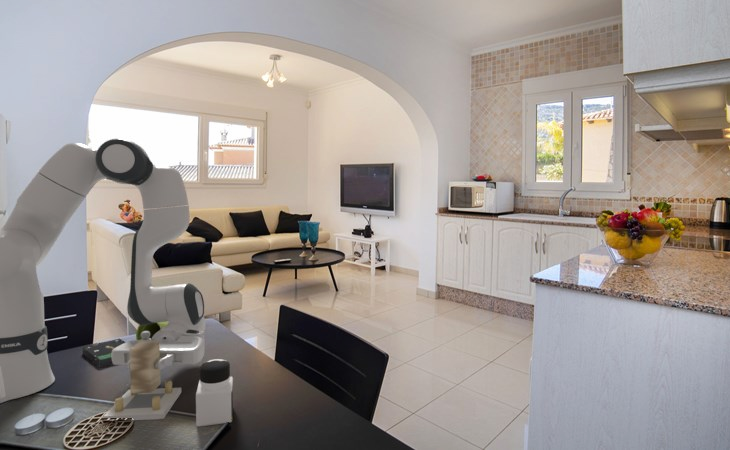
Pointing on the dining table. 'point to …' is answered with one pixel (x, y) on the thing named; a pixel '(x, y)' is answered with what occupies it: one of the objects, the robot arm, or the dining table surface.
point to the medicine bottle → (214, 394)
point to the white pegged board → (145, 404)
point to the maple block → (144, 367)
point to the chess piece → (145, 335)
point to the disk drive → (102, 352)
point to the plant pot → (150, 329)
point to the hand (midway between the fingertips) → (143, 366)
